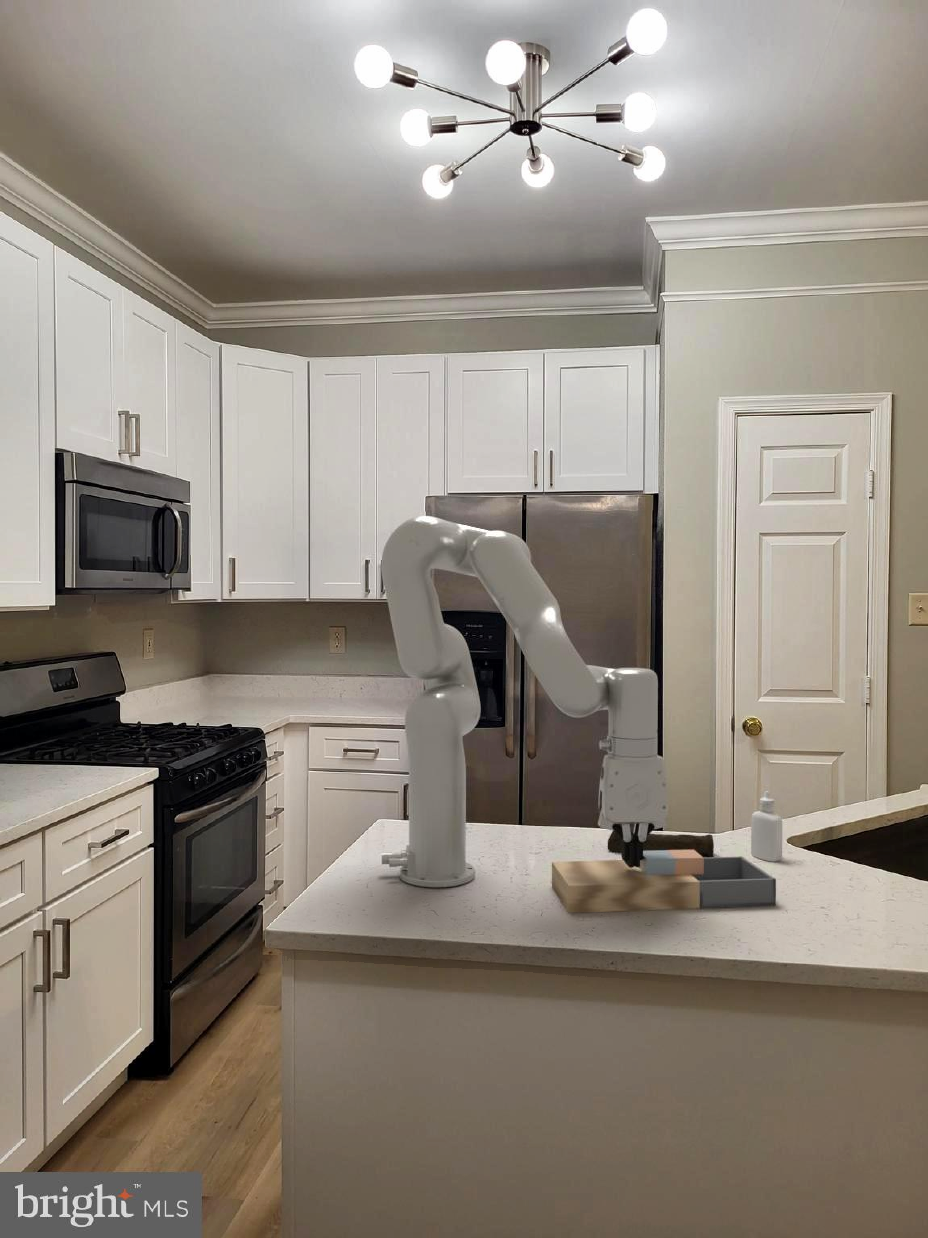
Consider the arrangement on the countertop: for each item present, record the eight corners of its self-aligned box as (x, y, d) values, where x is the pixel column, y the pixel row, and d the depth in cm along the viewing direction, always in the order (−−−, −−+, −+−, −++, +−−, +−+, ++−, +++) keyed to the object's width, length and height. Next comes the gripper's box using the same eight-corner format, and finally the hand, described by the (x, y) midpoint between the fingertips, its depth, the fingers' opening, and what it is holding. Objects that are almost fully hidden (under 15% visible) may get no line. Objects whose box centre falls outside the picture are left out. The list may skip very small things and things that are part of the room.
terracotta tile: (675, 874, 133) (675, 858, 133) (666, 865, 138) (666, 850, 138) (703, 874, 133) (703, 858, 133) (693, 865, 138) (693, 849, 138)
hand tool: (712, 854, 159) (712, 828, 159) (714, 860, 155) (714, 834, 155) (608, 849, 163) (608, 824, 163) (607, 854, 159) (607, 829, 159)
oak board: (568, 913, 128) (569, 886, 127) (551, 886, 139) (551, 862, 139) (699, 908, 130) (699, 881, 130) (671, 883, 142) (671, 858, 142)
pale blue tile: (646, 875, 133) (646, 859, 133) (638, 866, 137) (638, 850, 137) (675, 874, 133) (675, 858, 133) (666, 866, 138) (666, 850, 138)
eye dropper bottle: (772, 853, 159) (773, 788, 159) (784, 862, 153) (785, 795, 153) (748, 853, 159) (749, 788, 159) (760, 862, 153) (760, 795, 153)
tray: (699, 908, 130) (699, 881, 130) (671, 883, 142) (671, 858, 142) (775, 905, 131) (775, 879, 131) (741, 880, 143) (742, 856, 143)
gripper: (591, 752, 130) (591, 874, 130) (688, 751, 131) (687, 871, 132) (579, 744, 137) (579, 859, 138) (671, 743, 139) (670, 857, 139)
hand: (632, 864), depth 135 cm, fingers closed
